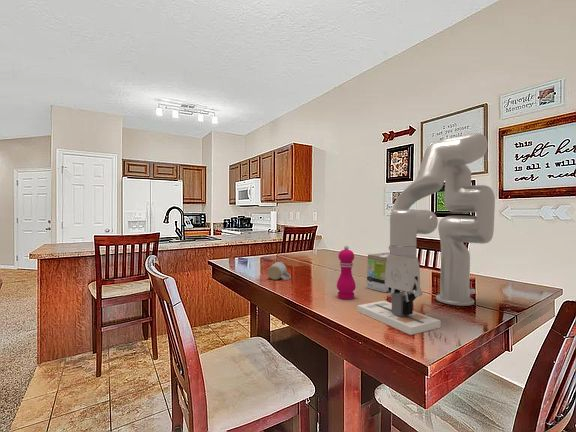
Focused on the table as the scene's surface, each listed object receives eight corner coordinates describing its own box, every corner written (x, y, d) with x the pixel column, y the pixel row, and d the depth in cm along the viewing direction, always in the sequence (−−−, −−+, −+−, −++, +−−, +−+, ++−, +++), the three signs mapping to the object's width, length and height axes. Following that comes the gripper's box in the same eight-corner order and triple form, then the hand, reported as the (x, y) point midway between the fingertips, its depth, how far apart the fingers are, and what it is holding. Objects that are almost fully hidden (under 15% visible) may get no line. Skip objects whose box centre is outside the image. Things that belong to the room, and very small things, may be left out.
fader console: (384, 306, 109) (384, 300, 109) (440, 327, 90) (440, 320, 90) (357, 311, 104) (357, 305, 104) (410, 335, 84) (410, 327, 84)
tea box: (386, 293, 127) (386, 256, 126) (366, 288, 134) (366, 254, 134) (406, 287, 136) (407, 253, 136) (386, 283, 144) (386, 251, 144)
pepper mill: (355, 300, 116) (356, 246, 116) (336, 299, 117) (336, 246, 117) (355, 295, 123) (355, 244, 123) (336, 294, 124) (337, 244, 124)
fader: (403, 310, 97) (403, 291, 97) (412, 314, 94) (412, 293, 94) (391, 313, 95) (391, 293, 95) (400, 316, 92) (400, 296, 92)
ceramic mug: (266, 280, 150) (266, 264, 149) (272, 276, 157) (272, 261, 157) (287, 281, 147) (288, 265, 146) (292, 278, 154) (292, 262, 154)
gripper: (374, 248, 100) (373, 306, 100) (416, 255, 85) (415, 322, 85) (391, 247, 103) (390, 303, 103) (435, 254, 88) (434, 318, 89)
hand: (402, 311), depth 94 cm, fingers closed on fader, 3 cm apart
